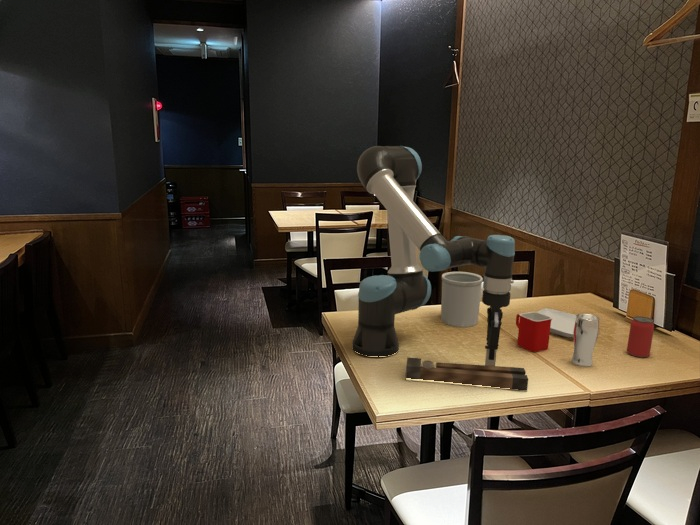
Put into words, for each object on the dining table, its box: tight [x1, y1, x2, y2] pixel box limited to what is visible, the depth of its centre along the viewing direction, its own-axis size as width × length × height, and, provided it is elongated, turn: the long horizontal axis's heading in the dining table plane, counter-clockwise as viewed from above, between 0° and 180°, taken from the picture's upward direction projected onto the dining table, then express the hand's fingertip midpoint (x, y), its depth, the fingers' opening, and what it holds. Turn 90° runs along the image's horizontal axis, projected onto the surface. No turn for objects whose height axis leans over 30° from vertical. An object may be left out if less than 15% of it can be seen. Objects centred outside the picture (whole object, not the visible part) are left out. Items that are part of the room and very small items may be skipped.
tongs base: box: [405, 357, 529, 391], centre depth 145 cm, size 33×6×5 cm, turn 81°
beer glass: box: [570, 312, 600, 368], centre depth 157 cm, size 7×7×15 cm
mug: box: [515, 311, 552, 353], centre depth 171 cm, size 12×8×11 cm
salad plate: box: [519, 307, 600, 338], centre depth 189 cm, size 21×21×3 cm
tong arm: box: [435, 361, 526, 375], centre depth 146 cm, size 24×2×4 cm, turn 83°
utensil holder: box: [440, 271, 484, 328], centre depth 192 cm, size 15×15×18 cm
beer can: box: [626, 315, 655, 358], centre depth 165 cm, size 7×7×12 cm
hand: (489, 368), depth 150 cm, fingers closed
